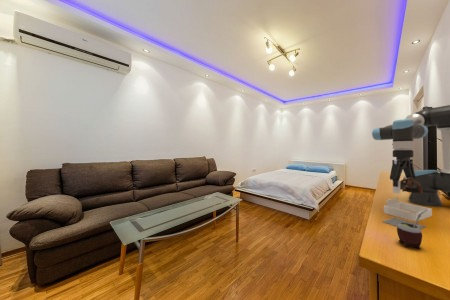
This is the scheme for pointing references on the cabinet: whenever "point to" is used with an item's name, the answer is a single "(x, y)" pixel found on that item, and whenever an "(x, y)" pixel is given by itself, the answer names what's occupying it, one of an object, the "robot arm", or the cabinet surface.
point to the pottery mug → (410, 185)
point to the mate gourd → (410, 233)
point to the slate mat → (397, 221)
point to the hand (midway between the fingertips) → (402, 191)
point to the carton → (395, 209)
